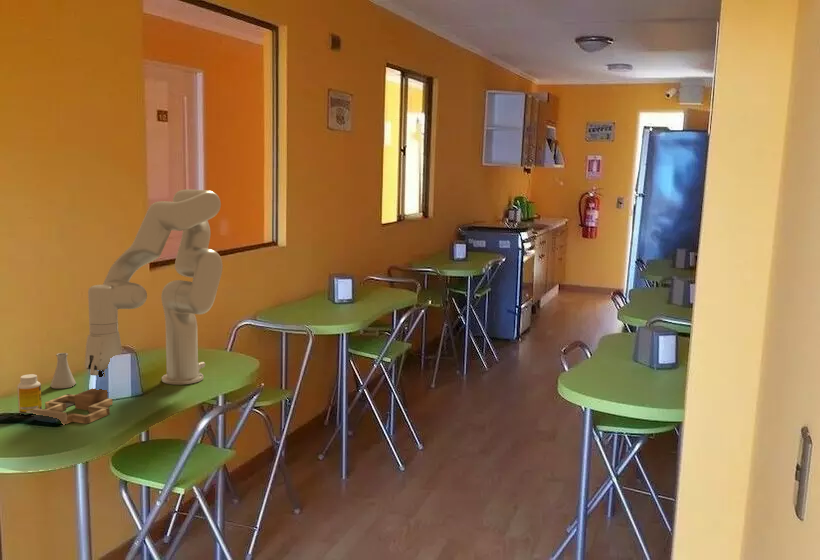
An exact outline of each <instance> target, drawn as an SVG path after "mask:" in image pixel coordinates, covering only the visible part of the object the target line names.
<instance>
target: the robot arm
mask: <svg viewBox="0 0 820 560" xmlns="http://www.w3.org/2000/svg"><path fill="white" fill-rule="evenodd" d="M221 206H222V203H221V198H220V197H219V195H218V193H215V192H214V191H212V190H209V189H208V190H205V189H181V190H178V191H177V192H176V193H175V194H174V195H173V199H172V201H167V200H166V201H164V200H163V201H155V202H154V203H152V204H150V206H148V209H147V211H146V213H145V216H144V217H143V220H142V222H141V224H140V227H139V228H138V231H137V233H136V235H135V238H134V240H133V242H132V243H131V245H130V246H129V247H128V248H127V249H126V250H125V251H124V252H123V253H122V254H121V255H120V256H119V257H118V258H117V259H115V261H114V262H113V264H112V265H111V267H110V268H109V269H108V271H107V274H106V277H105V279H104V281H103V284H95V285H92V286H90V287H89V288H88V291H87V295H88V296H87V299H88V327H89V334H88V335H87V338H86V344H85V357H84V358H85V360H84V361H85V369H86V370H89V375H90V376H96V377H97V375H99V377H102V376H103V374H104V377H105V372H104V371H105V369H107V368H108V367H107V366H108V364H109V362H110V358H112V357H113V356H115V355H118V354H121V353H123V352H122V341H121V336H120V332H119V318H118V317H119V316H118V314H119V311H118V310H120V309H121V310H134V309H137V308H140V307H142V306H144V304H145V303H146V301H147V299H148V293H147V290H146V289H145V288H144V286H143V285H141V284H139V283H137V282H132V281H131V279H132V277H133V275H134V274H135V273H136V272H137V271H138V270H139V269H140V268H141V267H143V266H146V265H147V264H149V263H152V262H153V261H155V260H157V259H159V258H160V257H161V255H162V253H163V251H164V249H165V247H166V244H167V241H168V239H169V237H170V235H171V233H172V231H176V232H178V231H179V232H180V231H182V234H181V238H180V242H179V247H178V249H177V254H176V257H175V262H174V269H175V271H176V273H177V274H178V275H180V276H183V277H187V278H192V280H191V281H188V280H183V279H182V280H181V279H177V280H172V281H171V280H170V282H168V283H167V284H165V285H164V286H163V289H162V290H161V291H162V292H161V297H160V298H161V304H162V308H163V312H164V321H165V323H164V324H165V356H166V357H165V359H166V374H163V376H161V382H163V383H164V384H167V385H173V386H174V385H175V386H176V385H177V386H179V385H180V386H182V385H191V384H195V383H199V382H201V381H202V380H204V374H203V373H202V372H200V369H203V368H205V366H206V363H205V362H204V361H200V362H199V350H198V347H199V345H198V341H199V340H198V320H197V317H196V315H205V314H206V313H208V312H209V311H210V310H211V308H212V307H213V305H214V303H215V300H216V297H217V292H218V288H219V286H220V285H219V284H220V282H221V277H222V275H223V267H224V266H223V260H222V257H221V255H220V254H219V253H218V251H216V250H213V249H211V248H209V244H210V239H211V234H212V233H211V227H210V223H209V220H211V219H213V218H214V217H216V216H217V215H218V213H219V212H220V210H221ZM97 370H99V371H97ZM101 370H102V371H101ZM102 372H104V373H103V374H102Z"/></svg>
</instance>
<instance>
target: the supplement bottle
mask: <svg viewBox="0 0 820 560" xmlns="http://www.w3.org/2000/svg"><path fill="white" fill-rule="evenodd" d="M19 378H20V382H19V383H18V384H17V389H16V390H17V403H18V404H17V405H18V414H19V413H33V409H35V408H38V409H43V405H42V401H43V400H42V387H41V386H42V385H41V382H40V381H38V375H37V374H33V373H31V374H30V373H29V374H23V375H21V376H20V377H19Z"/></svg>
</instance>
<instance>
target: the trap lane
mask: <svg viewBox="0 0 820 560" xmlns="http://www.w3.org/2000/svg"><path fill="white" fill-rule="evenodd" d="M75 395H76V394H73V393H72V394H70V393H66V394H65V395H64V394H63V395H61V396H58V397H56V398H53V399H50V400H47V401H45V402H44V409H43V408H42V409H38V408H35V409H33V414H36V415H43V416H49V417H53V418H57V419H59V420H60V421H61V423H62V424H63V425H62V426H65V424H66V425H67V424H70V423H73V422H74V423H78V424H85V425H86V424H87V425H88V424H91V423H93V422H95V421H97V420H99V419H102V418H104V417H106V416H109V415H110V414H111V411H110V407H111V406H110V405H112V404H114V403H113V398H109V397H108V399H106V400H104V401H101V402H99V403H96V404H93V405H91V406H88V410H87V413H88V414H79V413H73V412H71V413H68V414H67V412H65V411H66V410H67V408H69V407H72V406H75ZM112 406H113V405H112Z"/></svg>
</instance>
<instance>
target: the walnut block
mask: <svg viewBox="0 0 820 560" xmlns="http://www.w3.org/2000/svg"><path fill="white" fill-rule="evenodd" d="M93 388H94V387H92V388H89V389H88V390H85V391H82V392H78V393H76V394H74V395H75V405H74V408H75V409H78V410H84V411H88V406H91V405H93V404H96V403H99V402H101V401H104V400H106V399H109V396H108V392H107V390H102V389H99V388H98V389H99V390H96V389H97V388H94V389H93Z"/></svg>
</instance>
